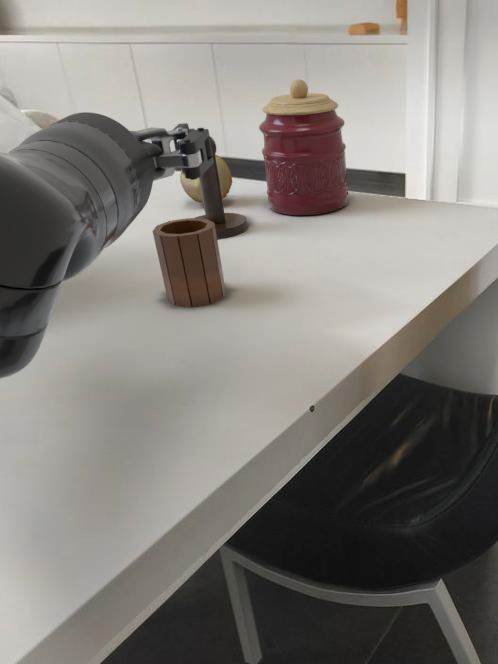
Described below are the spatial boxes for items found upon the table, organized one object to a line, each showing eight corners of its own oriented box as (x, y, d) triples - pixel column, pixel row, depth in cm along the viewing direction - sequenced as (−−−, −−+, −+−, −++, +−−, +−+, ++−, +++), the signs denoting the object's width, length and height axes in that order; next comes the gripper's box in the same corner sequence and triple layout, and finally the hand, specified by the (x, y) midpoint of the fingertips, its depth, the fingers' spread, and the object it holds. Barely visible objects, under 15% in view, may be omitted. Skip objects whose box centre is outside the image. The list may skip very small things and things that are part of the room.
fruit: (181, 201, 115) (172, 150, 111) (230, 195, 118) (222, 144, 113) (189, 213, 110) (179, 159, 105) (240, 205, 112) (232, 152, 107)
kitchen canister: (252, 208, 110) (235, 82, 100) (310, 190, 118) (300, 72, 107) (306, 221, 103) (294, 87, 92) (365, 202, 110) (360, 76, 100)
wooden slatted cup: (185, 318, 75) (169, 240, 70) (160, 301, 80) (143, 226, 75) (236, 302, 78) (224, 226, 73) (210, 287, 83) (196, 214, 78)
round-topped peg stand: (203, 243, 97) (186, 143, 89) (176, 229, 103) (157, 134, 95) (259, 229, 101) (246, 132, 93) (229, 217, 107) (215, 125, 99)
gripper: (176, 116, 43) (211, 84, 57) (-48, 128, 43) (39, 94, 56) (198, 236, 48) (226, 181, 61) (-5, 247, 48) (67, 190, 61)
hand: (136, 139), depth 59 cm, fingers open, 8 cm apart
